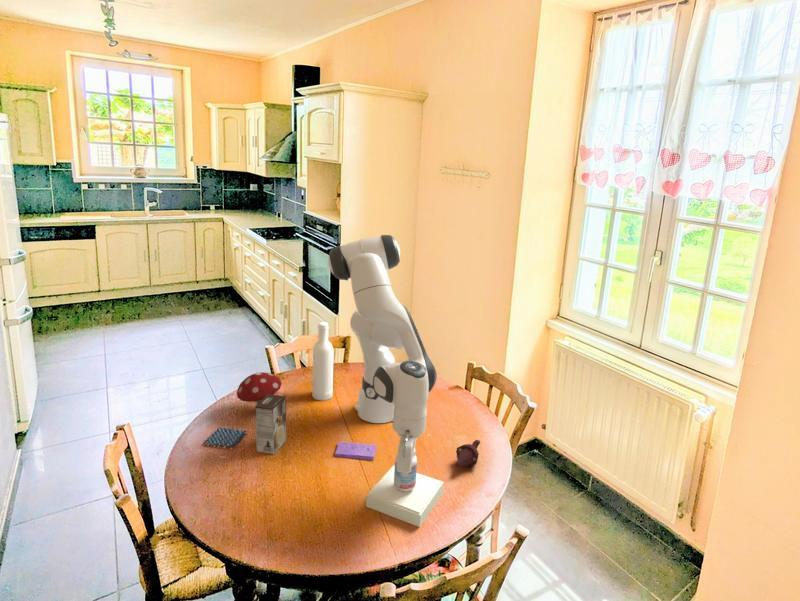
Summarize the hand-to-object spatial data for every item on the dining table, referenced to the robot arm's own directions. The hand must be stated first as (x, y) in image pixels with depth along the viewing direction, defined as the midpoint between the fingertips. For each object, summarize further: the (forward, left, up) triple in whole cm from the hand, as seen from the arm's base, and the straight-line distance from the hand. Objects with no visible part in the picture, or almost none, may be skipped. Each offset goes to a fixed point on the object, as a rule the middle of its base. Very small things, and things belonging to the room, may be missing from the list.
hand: (406, 467), depth 139 cm
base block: (0, 0, -10) cm, 10 cm away
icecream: (-25, +10, -11) cm, 29 cm away
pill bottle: (0, 0, -6) cm, 6 cm away
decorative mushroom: (-17, -67, -11) cm, 70 cm away
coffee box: (-2, -49, -11) cm, 50 cm away
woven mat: (+3, -64, -11) cm, 65 cm away
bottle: (-39, -55, -11) cm, 68 cm away
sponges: (-13, -24, -11) cm, 29 cm away
